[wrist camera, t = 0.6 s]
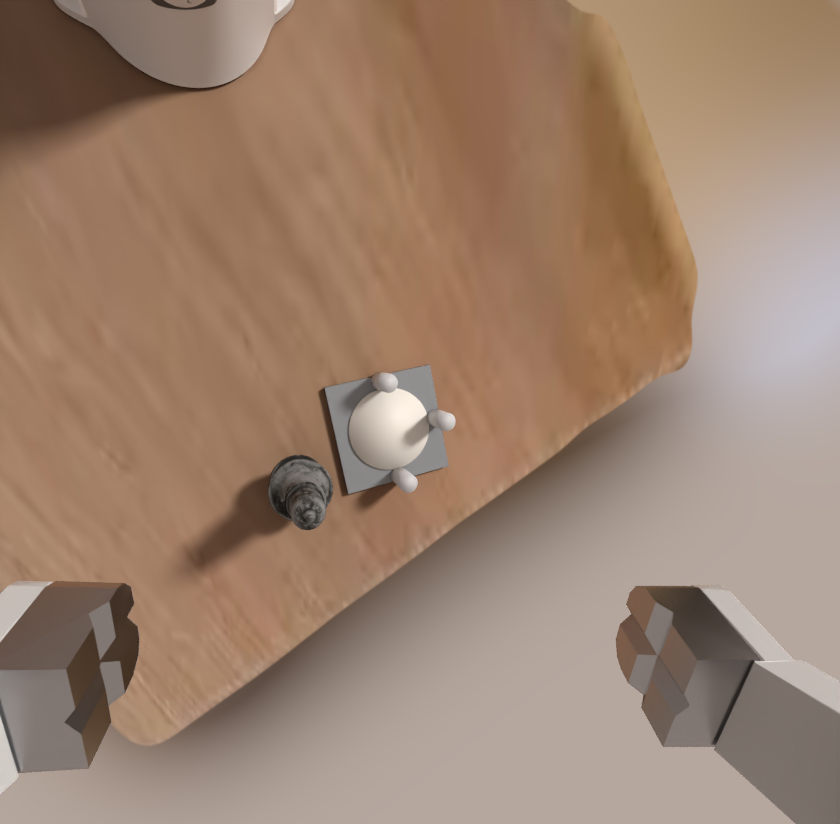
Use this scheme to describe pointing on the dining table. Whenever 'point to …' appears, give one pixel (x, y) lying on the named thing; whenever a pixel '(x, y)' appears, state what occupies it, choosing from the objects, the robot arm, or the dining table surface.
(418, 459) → the pin socket board
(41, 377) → the dining table surface
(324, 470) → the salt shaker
